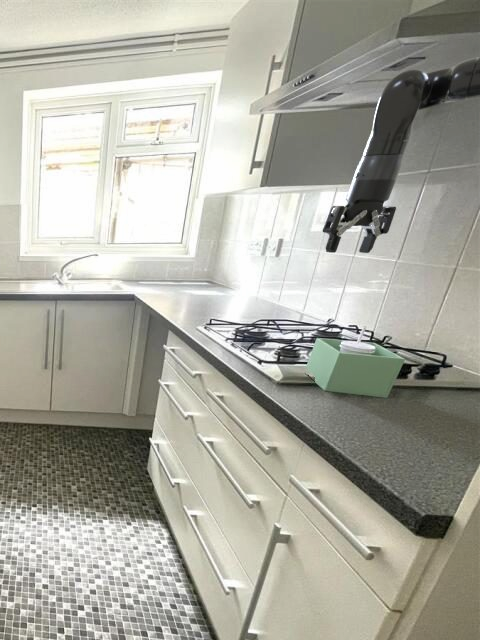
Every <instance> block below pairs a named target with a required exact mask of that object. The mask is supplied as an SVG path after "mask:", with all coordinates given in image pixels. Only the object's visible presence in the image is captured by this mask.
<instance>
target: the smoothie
mask: <svg viewBox="0 0 480 640" xmlns="http://www.w3.org/2000/svg"><path fill="white" fill-rule="evenodd" d="M366 329H367V326H366V325H364V326H363V327H362V328H361V330H360V333H359V335H358V338H357V340H347V341H342V342H341V344H340V347H341V349H340V352H341V353H352V354H363V355H371V353H373V352H375V349H376V348H375V347H374V346H373V345H370V344H366V343H362V342H363V341H362V340H363V336H364V335H365V332H366ZM356 341H357V342H356Z"/></svg>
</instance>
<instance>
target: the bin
mask: <svg viewBox="0 0 480 640" xmlns="http://www.w3.org/2000/svg"><path fill="white" fill-rule="evenodd" d="M342 341H348V340H347V339H346V340H345V339H334V338H322V337H316V339H315V341H314V344H313V347H312V349H311V352H310V355H309V358H308V361H307V364H306V366H305V369H307V370H308V371H309V372H310V373H312V374H313V376H314V377H315V382H314V383H315V384H316V385H317V386H319V387H320V388H321V390H323V391H324V392H331V393H340V394H347V395H348V394H349V395H359V396H366V397H376V398H382V399H383V398H384V399H388V397H389V395H390V393H391V391H392V389H393V386H394V384H395V382H396V380H397V378H398V376H399V373H400V371H401V369H402V367H403V365H404V362H405V360H406V358H405V357H403V356H400V355H399V354H396V353H395V352H393V351H391V350H389V349H387V348H385V347H383V346H381V345H379V344H378V343H376V342H368V341H361V342H362V343H366V344H370V345H373V346H374V347H375V348H376V349H375V352H373V353H371V355H363V354H352V353H341V352H340V349H341V347H340V344H341V342H342ZM355 341H356V342H357V341H358V340H355Z"/></svg>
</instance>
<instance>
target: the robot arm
mask: <svg viewBox="0 0 480 640" xmlns="http://www.w3.org/2000/svg"><path fill="white" fill-rule="evenodd" d="M478 98H479V99H480V56H477V57H473V58H469V59H466V60H463V61H461V62H460V61H459V63H457V64H455V65H453V66H451V67H447V68H442V69H438V70H434V71H430V72H425V71H424V70H422V69H417V68H412V69H407V70H404V71H402V72H400V73H398V74H396V75H395V76H394V77H392V78H391V79H390V80H389V81H388V82H387V83H386V85H385V86H384V87H383V89H382V91H381V93H380V96H379V99H378V101H377V105H376V109H375V113H374V118H373V122H372V128H371V131H370V134H369V136H368V139H367V141H366V144H365V145H364V146H365V147H364V149H363V151H362V155H361V158H360V160H359V162H358V164H357V166H356V169H355V171H354V175H353V177H352V179H351V182H350V187H349V189H348V192H347V194H346V197H345V200H346V201H347V203H346V204H345V206H344V205H333V206H331V208H330V210H329V212H328V214H327V217H326V220H325V222H324V226H323V227H322V233H324V234H327V235H328V239H327V241H326V242H327V243H326V244H325V252H326V253H332V254H333V253H336V252H337V250H338V247H339V245H340V242H341V240H342V235H343V234H344V233H345V232H346V231H348V230H349V229H351V228H353V227H361V228H362V229H363V230H364V232H365V236H363V239H362V241H361V244H360V247H359V250H358V252H359V253H362V254H369V253H370V252H371V251H372V250H373V248H374V245H375V243H376V240H377V238H378V237H379V236H381V235H383V234H385V235H386V234H388V233H389V231H390V229H391V226H392V222H393V219H394V217H395V214H396V210H397V207H396V206H391V205H390V206H384V203H385V202H387V201H388V200H389V199H390V197H391V195H392V191H393V189H394V187H395V184H396V181H397V179H398V176H399V174H400V171H401V168H402V165H403V161H404V157H405V156H404V155H405V153H406V151H407V147H409V146H408V145H409V143H410V141H411V137H412V135H413V129H414V128H413V125H414V121H415V119H416V116H417V115H418V111H421V110H425V109H429V108H433V107H437V106H440V105H443V104H447V103H454V102H460V101H461V102H462V101H466V100H473V99H478Z"/></svg>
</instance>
